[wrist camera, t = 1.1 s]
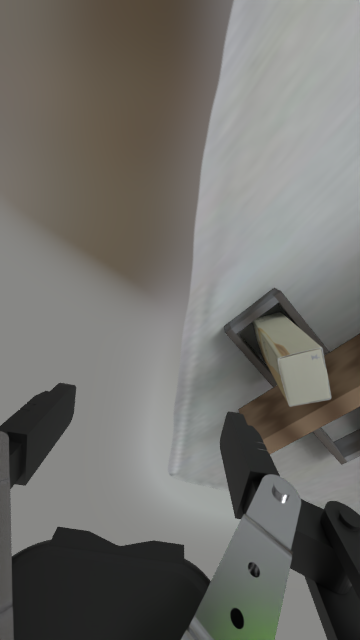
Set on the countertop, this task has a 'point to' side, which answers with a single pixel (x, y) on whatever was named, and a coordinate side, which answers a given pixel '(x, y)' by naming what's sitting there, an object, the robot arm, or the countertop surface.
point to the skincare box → (292, 360)
